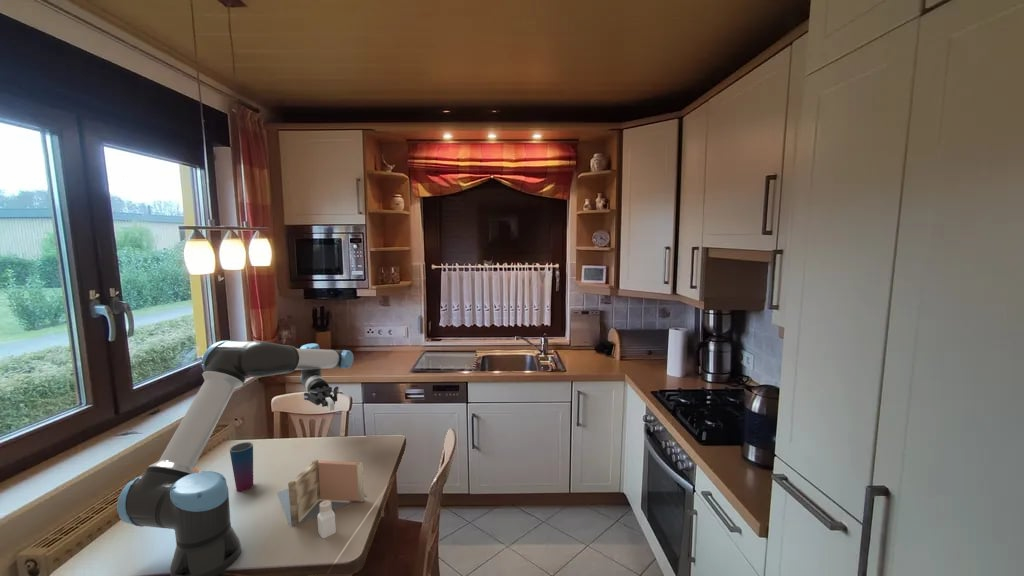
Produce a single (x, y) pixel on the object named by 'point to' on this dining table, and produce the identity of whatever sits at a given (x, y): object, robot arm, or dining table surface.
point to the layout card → (313, 510)
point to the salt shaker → (326, 519)
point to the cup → (242, 465)
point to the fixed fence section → (304, 492)
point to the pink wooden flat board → (341, 480)
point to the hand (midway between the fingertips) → (332, 406)
